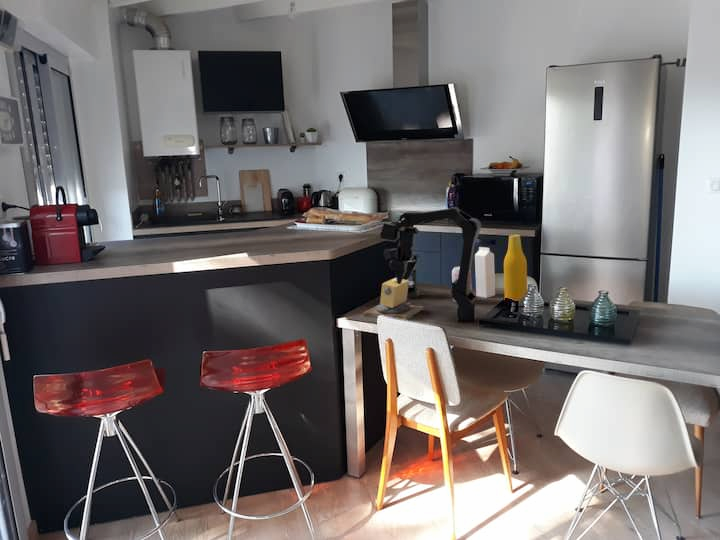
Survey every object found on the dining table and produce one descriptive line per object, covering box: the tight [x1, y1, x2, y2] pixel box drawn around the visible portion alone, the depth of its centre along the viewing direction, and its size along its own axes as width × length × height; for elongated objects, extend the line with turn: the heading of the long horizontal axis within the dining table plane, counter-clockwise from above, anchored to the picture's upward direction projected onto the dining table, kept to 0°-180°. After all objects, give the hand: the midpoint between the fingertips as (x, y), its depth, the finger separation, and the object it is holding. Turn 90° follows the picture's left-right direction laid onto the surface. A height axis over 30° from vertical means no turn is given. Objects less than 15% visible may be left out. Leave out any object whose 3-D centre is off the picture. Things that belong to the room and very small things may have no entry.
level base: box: [362, 301, 425, 320], centre depth 239 cm, size 20×16×4 cm
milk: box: [474, 246, 496, 299], centre depth 253 cm, size 6×6×22 cm
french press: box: [404, 269, 420, 299], centre depth 262 cm, size 12×9×23 cm
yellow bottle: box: [503, 234, 528, 301], centre depth 235 cm, size 9×9×29 cm
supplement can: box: [451, 265, 473, 304], centre depth 247 cm, size 8×8×15 cm
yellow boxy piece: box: [379, 277, 410, 308], centre depth 237 cm, size 6×13×10 cm, turn 148°
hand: (403, 281), depth 229 cm, fingers open, 9 cm apart
